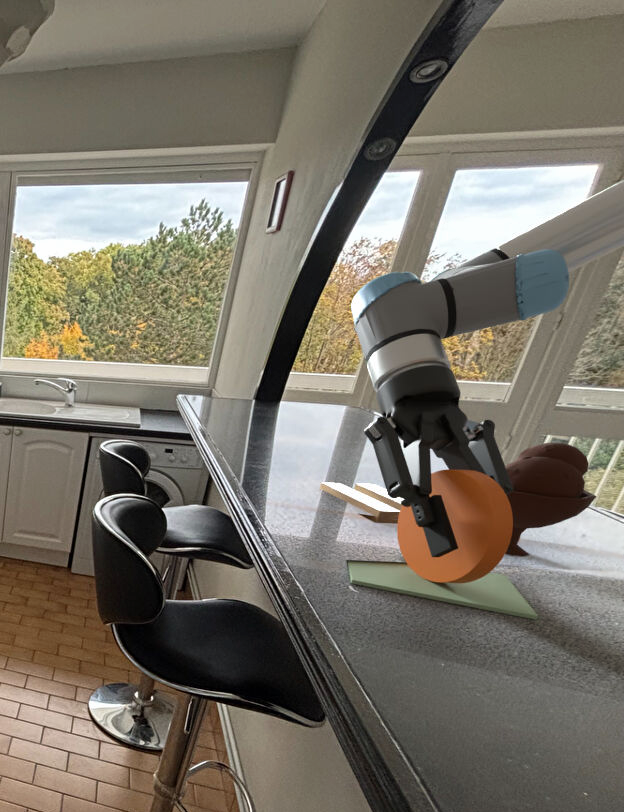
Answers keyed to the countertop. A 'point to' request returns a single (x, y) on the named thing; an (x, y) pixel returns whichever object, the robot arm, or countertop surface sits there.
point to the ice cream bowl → (546, 488)
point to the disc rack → (368, 500)
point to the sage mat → (442, 587)
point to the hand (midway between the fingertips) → (469, 553)
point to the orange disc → (461, 528)
